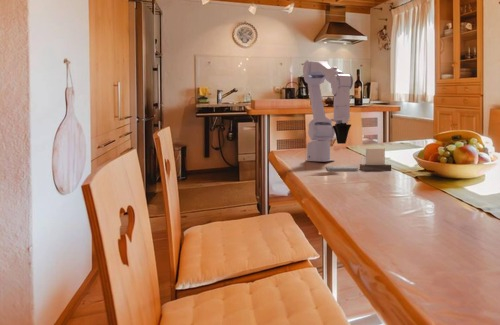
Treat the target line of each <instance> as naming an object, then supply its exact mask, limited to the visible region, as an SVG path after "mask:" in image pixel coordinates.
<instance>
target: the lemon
mask: <svg viewBox="0 0 500 325" xmlns="http://www.w3.org/2000/svg"><path fill="white" fill-rule="evenodd" d="M425 148H426V147H424V148H423V149H421V150H419V152H418V153H417V156H416V158H417V157H419V158H424V150H425ZM417 165H418V166H419V168H422V167H421V166H420V165H419V164H418V163H417Z"/></svg>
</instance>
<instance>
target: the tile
mask: <svg viewBox="0 0 500 325" xmlns="http://www.w3.org/2000/svg"><path fill="white" fill-rule="evenodd" d="M325 168H326V170H327V171H328V172H359V171H358V169H359V167H355V166H352V165H351V166H350V165H349V166H347V165H346V166H345V165H344V166H342V165H341V166H340V165H339V166H336V165H335V166H325Z"/></svg>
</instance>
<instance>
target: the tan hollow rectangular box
mask: <svg viewBox="0 0 500 325" xmlns="http://www.w3.org/2000/svg"><path fill="white" fill-rule="evenodd" d="M359 170H361V171H365V172H367V171H371V172H373V171H374V172H375V171H378V172H379V171H392V165H391V164H389V163H385V165H366V163H360V164H359Z"/></svg>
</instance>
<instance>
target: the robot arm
mask: <svg viewBox="0 0 500 325" xmlns="http://www.w3.org/2000/svg"><path fill="white" fill-rule="evenodd" d="M302 67H303V68H302V74H303V80H304V82H305V83H306V84H307V89H308V93H309V94H308V95H309V101H310V106H311V111H312V118H313V119H311V121H309V123H308V126H307V127H308V137H309V138H310V140H309V141H308V142H307V145H306V159H305V161H306V162H335V159H331V141H332V140H333V139H334V138H336V143H337V144H342V145H344V144H346V143H347V140H348V135H349V131H350V129H351V127H352V124H349V122H350V121H351V118H350V110H351V107H350V106H351V104H350V101H351V100H350V99H351V98H350V97H351V96H350V92H351V90H352V87H353V84H354V79H353V76H352V74H350V73H344V72H343V71H342V70H339V68H338V66H332V67H331V66H330V64H329V61H326V60H324V61H322V60H307V59H306V60H305V62H304V64H303V66H302ZM325 81H327V82H328V83H329V84H330V88H331V93H332V95H333V118H328V117H327V116H326V113H325V107H324V103H323V97H322V92H321V85H322V84H324V83H325ZM333 122H334V123H335V124H334V125H333ZM334 136H335V137H334Z"/></svg>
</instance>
